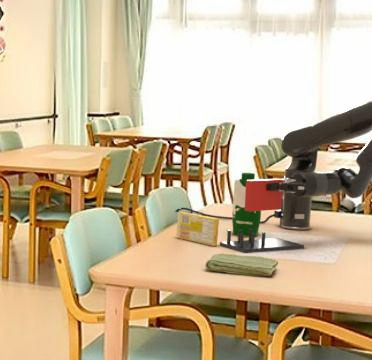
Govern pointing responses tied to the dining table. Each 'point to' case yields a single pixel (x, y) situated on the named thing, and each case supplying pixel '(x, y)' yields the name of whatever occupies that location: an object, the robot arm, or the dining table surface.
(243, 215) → the milk carton
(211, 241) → the candy box
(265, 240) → the dish rack
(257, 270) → the washcloth
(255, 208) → the red rectangular block
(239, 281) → the dining table surface
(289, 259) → the dining table surface
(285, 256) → the dining table surface
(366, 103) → the robot arm
